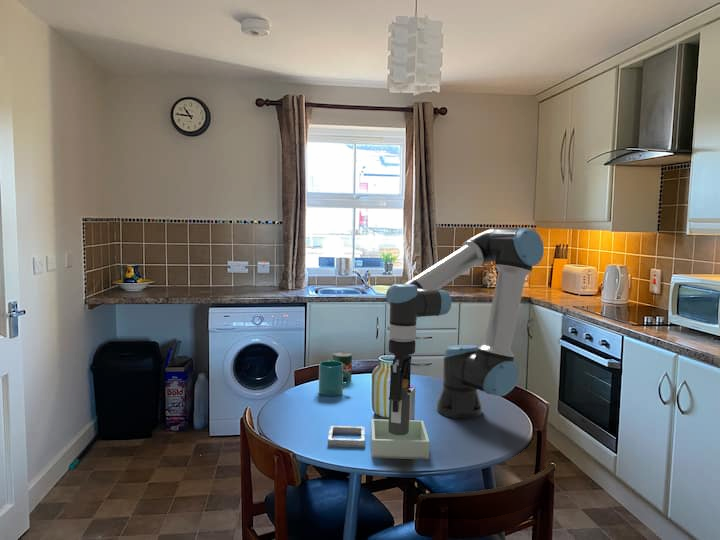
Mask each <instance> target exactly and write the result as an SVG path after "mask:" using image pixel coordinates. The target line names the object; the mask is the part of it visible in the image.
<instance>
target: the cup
mask: <svg viewBox="0 0 720 540" xmlns="http://www.w3.org/2000/svg"><path fill="white" fill-rule="evenodd" d="M318 365H319V366H318V393H319V394H320V395H322V396H323V397H324V396H325V397H336V396H340V395H341V394H343V390H344V387H346V386H348V385H349V384H350V383H351V381H352V375H351V376H350V374H349V373H348V372H347V371H344V370H343V363H342V362H339V361H333V360H324V361H321V362H319V364H318ZM343 373H345V374H346V375H347V376H348V381H347V382H346V383H343Z"/></svg>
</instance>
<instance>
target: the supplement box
mask: <svg viewBox="0 0 720 540" xmlns="http://www.w3.org/2000/svg"><path fill="white" fill-rule="evenodd" d="M409 390H411V393H408V394H409V395H410V413H409V420H415V411H416V409H415V408H416V406H415V405H416V387H415V386H410V389H409Z"/></svg>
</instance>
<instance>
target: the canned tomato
mask: <svg viewBox="0 0 720 540" xmlns="http://www.w3.org/2000/svg"><path fill="white" fill-rule="evenodd" d="M352 357H353V353H352V352H351V351H342V350H339V351H335V352H333V353H332V361H339V362H342V363H343V370H344V371H347V372H348V373H349V374H350V376H351V377H352V370H353V369H352V368H353V365H352V363H353V362H352V361H353V358H352ZM347 381H348V376H347V375H346V374H345V373H343V382H347Z"/></svg>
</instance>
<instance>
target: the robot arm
mask: <svg viewBox="0 0 720 540" xmlns="http://www.w3.org/2000/svg"><path fill="white" fill-rule="evenodd" d="M544 250H545V249H544V242H543V239H542V238H541V235H540V234H539V233H538V232H537V231H536V230H535V229H533V228H532V229H531V228H525V227H492V228H488V229H486V230H483V231H482V232H480V233H477V234H476V235H474V236H472V237H471V238H470V237H469V239H467V240H466V241H464V242H463V243H462V244H461V246H460V248H458V249H457V250H455V251H454V252H452V253H451V254H449V255H448V256H446V257H444V258H442V259H441V260H439V261H438V262H436V263H435V264H433V265H431V266H429V267H428V268H426V269H425V270H424V271H422V272H421V273H419V274H417V275H415V276H414V277H411V279H409V280H407V281H406V282H404V283H394V284H392V285H390V286H389V287H388V289H387V291H386V295H385V297H386V301H387V304H388V305H389V325H388V326H387V329H388V330H389V332H388V333H389V335H388V337H389V339H388V353H390V354H393V355H394V358H393V360H392V364H390V365H389V366H390V367H389V368H390V377H389V378H390V379H389V380H390V381H389V397H388V400H392V405H391V422H393V423H399V424H400V423H401V406H402V400H401V391H402V382H403V379H407V380H408V381H409V382H408V386H409V389H410V387H411V373H412V372H411V369H412V368H411V364H412V355H413V354H415V353H416V340H415V339H416V338H417V320H418V318H421V317H434V316H435V317H439V316H443V315H444V316H445V315H446V314H448V313H449V312H450V310H451V309H452V297H451V295H450V293H449V292H448V291H446V290H444V289H441V288H443V287H445V286H446V285H448V284H449V283H451V282H452V281H454V280H455V279H456V278H458V277H461V276H462V274H464V273H465V272H468V271H469V270H470V269H472V268H474V267H475V268H476V267H480V266H482V265H484V264H487V263H493V262H494V266H495V268H496V270H497V272H498V273H497V277H496V281H495V287H494V292H493V296H492V300H491V301H492V302H491V307H490V311H489V315H488V316H489V317H488V321H487V326H486V330H485V336H484V339H483V340H484V341H483V343H482V344H481V345H479V346H478V345H475V344H455V345H454V344H453V345H449V346H446V348H445V350H444V355H443V380H442V381H443V383H442V385H443V386H442V390H441V392H440V395H439V398H438V400H437V404H436V406H437V407H436V410H437V412H438V413H439V414H441V415H442V416H445V417H447V418H453V419H461V420H467V419H475V418H479V417H481V415H482V409H483V407H482V403H481V399H480V396H479V392H478V391H481V392H484V393H486V394H488V395H493V396H495V397H504V396H506V395H508V394H509V393H510V392H512V391H513V390H514V388H515V386H517V383H518V381H519V375H520V372H519V370H518V369H519V368H518V366H517V365H516V363H515V362H514V359H515V355H514V353H513V352H512V350H511V348H512V344H513V340H514V339H513V338H514V334H515V329H516V324H517V319H518V315H519V309H520V305H521V301H522V295H523V291H524V285H525V280H526V277H527V276H528V275H530V274H531V273H532V271H533V267H534V266H536V265H538V264H540V262H541V261H542V260H543V257H544ZM408 393H411V390H409V391H408V392H407V394H408ZM478 416H479V417H478Z"/></svg>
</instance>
